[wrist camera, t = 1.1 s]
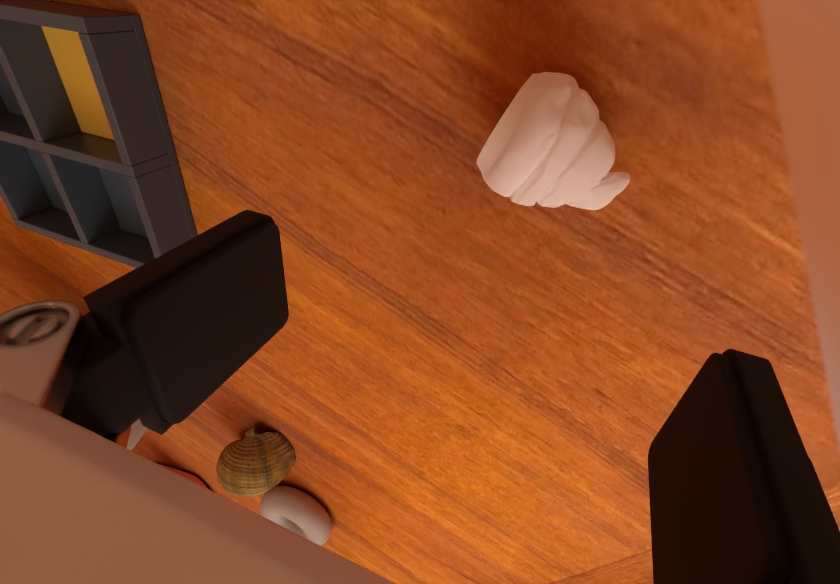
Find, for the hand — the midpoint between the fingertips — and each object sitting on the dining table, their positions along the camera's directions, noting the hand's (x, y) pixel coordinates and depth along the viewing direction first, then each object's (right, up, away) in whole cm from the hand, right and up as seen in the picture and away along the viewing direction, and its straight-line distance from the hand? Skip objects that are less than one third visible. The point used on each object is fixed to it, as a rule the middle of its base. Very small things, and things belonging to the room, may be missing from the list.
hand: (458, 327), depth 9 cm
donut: (-16, -27, +47) cm, 57 cm away
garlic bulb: (+6, +8, +12) cm, 16 cm away
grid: (-27, +13, +24) cm, 38 cm away
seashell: (-19, -17, +42) cm, 49 cm away
